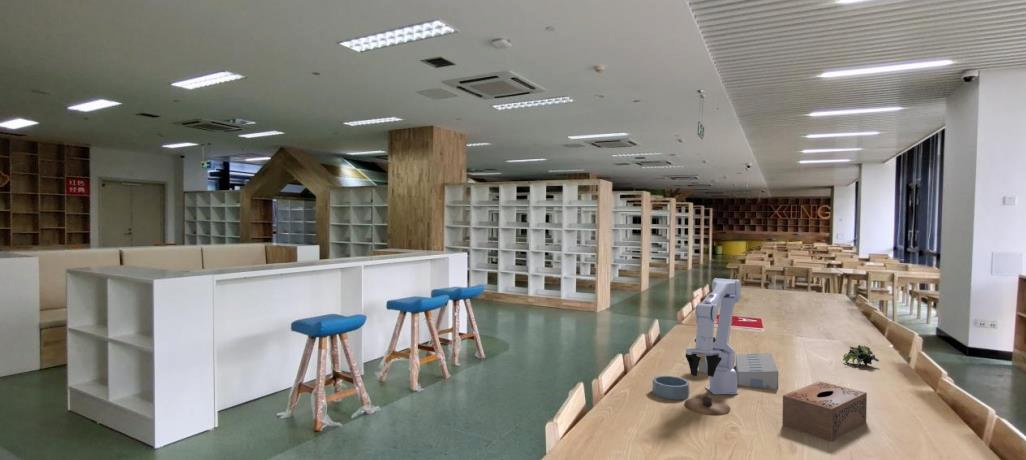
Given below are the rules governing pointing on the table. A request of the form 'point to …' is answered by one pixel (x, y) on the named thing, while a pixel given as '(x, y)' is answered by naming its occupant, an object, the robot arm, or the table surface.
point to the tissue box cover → (824, 410)
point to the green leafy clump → (860, 355)
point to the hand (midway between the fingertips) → (702, 376)
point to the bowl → (671, 387)
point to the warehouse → (757, 370)
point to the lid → (707, 406)
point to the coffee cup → (703, 361)
